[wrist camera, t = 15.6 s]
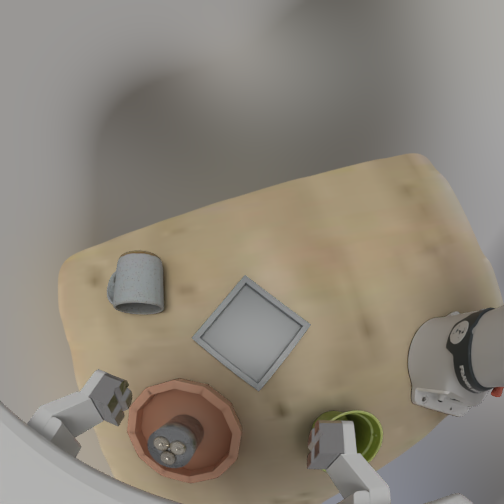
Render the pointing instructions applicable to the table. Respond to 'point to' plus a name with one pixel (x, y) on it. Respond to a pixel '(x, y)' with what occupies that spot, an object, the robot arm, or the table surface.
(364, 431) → the plant pot
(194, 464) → the terracotta bowl
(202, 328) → the parts tray
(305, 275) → the table surface
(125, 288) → the ceramic mug
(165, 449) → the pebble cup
